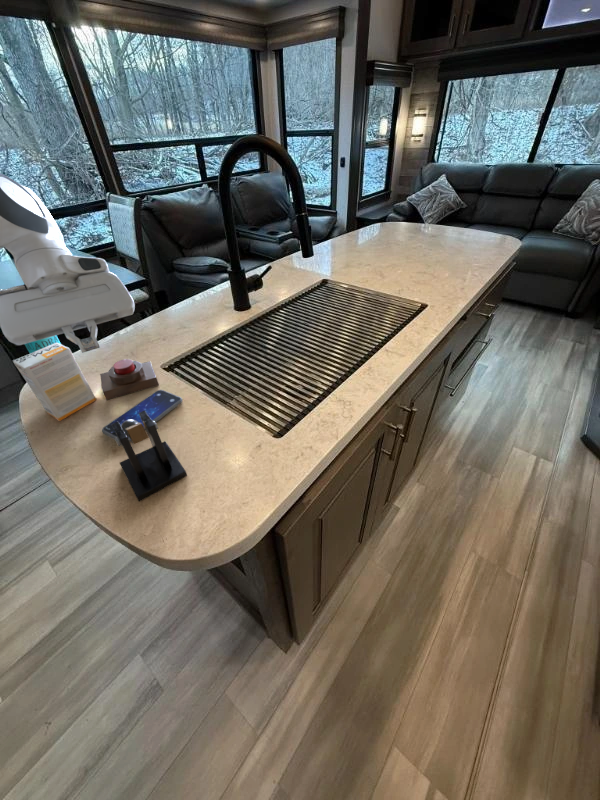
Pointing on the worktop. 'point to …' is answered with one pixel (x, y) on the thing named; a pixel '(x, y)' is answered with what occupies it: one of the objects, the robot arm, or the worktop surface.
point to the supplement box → (56, 380)
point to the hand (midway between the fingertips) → (90, 349)
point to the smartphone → (147, 410)
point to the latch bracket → (149, 461)
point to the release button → (124, 367)
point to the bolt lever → (134, 431)
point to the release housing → (128, 380)
